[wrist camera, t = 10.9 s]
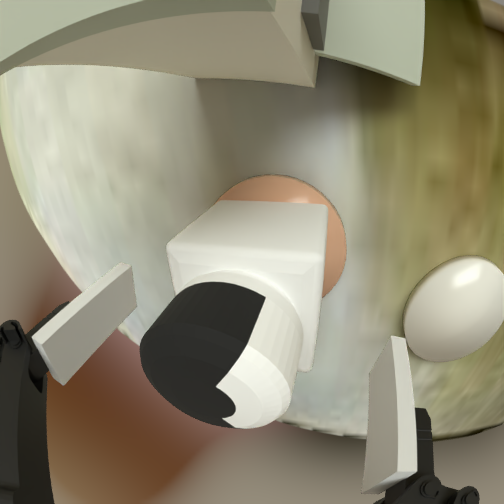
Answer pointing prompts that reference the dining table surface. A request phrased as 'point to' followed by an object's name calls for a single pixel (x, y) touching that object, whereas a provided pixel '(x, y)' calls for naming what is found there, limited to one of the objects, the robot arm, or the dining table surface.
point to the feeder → (217, 36)
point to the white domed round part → (454, 309)
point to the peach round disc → (298, 192)
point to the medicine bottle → (240, 311)
